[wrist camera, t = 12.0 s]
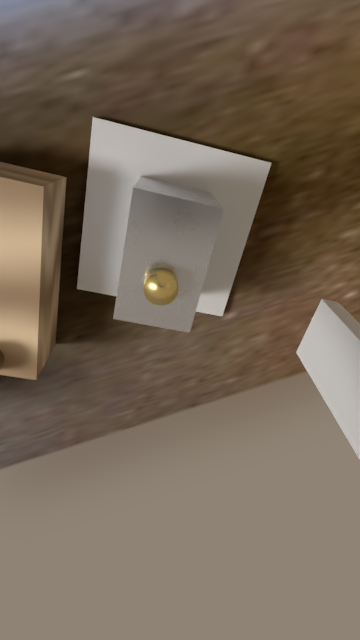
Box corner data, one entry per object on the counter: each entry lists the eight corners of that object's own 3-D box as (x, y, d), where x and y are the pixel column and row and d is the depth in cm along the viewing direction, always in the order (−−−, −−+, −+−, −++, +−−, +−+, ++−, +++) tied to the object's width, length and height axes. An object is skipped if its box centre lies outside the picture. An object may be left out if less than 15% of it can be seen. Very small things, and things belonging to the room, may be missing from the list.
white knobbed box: (140, 175, 23) (131, 190, 17) (211, 192, 24) (226, 212, 18) (123, 282, 27) (110, 326, 21) (185, 294, 28) (190, 340, 21)
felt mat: (94, 117, 22) (92, 117, 22) (269, 162, 24) (271, 162, 23) (78, 286, 28) (76, 288, 27) (221, 313, 29) (222, 316, 29)
